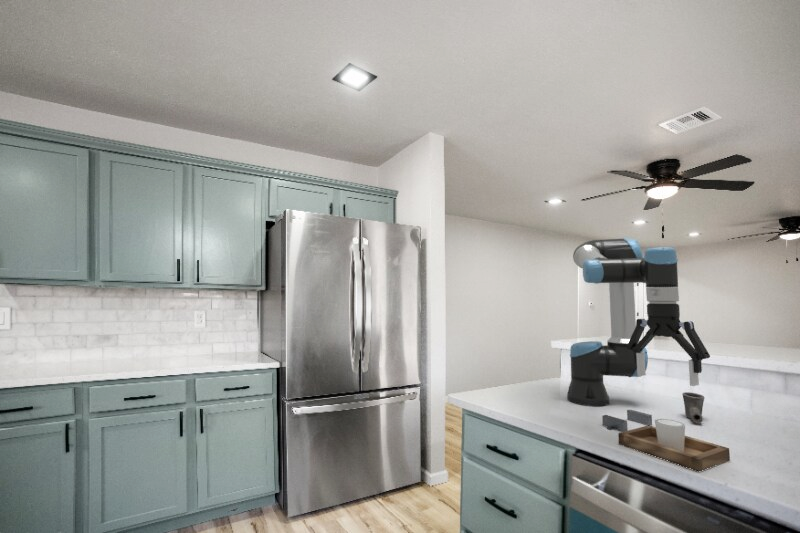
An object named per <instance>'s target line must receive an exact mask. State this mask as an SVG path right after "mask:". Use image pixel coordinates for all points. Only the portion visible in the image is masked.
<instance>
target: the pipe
mask: <svg viewBox="0 0 800 533" xmlns="http://www.w3.org/2000/svg"><path fill="white" fill-rule="evenodd" d="M682 398H683V404H684V413H685V416H686V418H688V419H691V421H692V422H693V423H695V424H701V423H702V422H703V407H704V402H705V396H704V395H703V394H699V393H696V392H691V391H690V392H687V391H685V392H682Z"/></svg>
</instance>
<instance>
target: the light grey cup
mask: <svg viewBox="0 0 800 533" xmlns="http://www.w3.org/2000/svg"><path fill="white" fill-rule="evenodd" d="M654 425H655V426H654V427H656V433H657V439H658V444H660V445H663V446H666V447H669V448H673V449H676V450H679V451H682V452H684V440H685V436H686V424H685V423H683V422H681V421H679V420H678V421H677V420H673V419H667V418H666V419H665V418H657V419H654Z"/></svg>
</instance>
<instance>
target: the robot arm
mask: <svg viewBox="0 0 800 533" xmlns="http://www.w3.org/2000/svg"><path fill="white" fill-rule="evenodd" d="M572 254H573V255H572V258H573V262H574V263H575V265H576V266H577V267H578V268H581V269H582V277H583V281H584V282H585V283H588V284H590V283H591V284H608V287H609V288H608V290H609V291H608V293H609V313H610V314H609V315H610V333H611V336H610V338H608V339H607V343H606V345H604V344H603V343H602V342H601V341H597V340H595V341H593V340H592V341H589V340H588V341H581V342H576V343H572V345H571V346H570V353H569V357H570V376H571V378H570V383H569V386H568V390H567V392H566V397H567V398H566V399H567V401H569V402H571V403H574V404H577V405H582V406H590V407H591V406H593V407H604V406H608V405H609V404H610V396H609V395H608V391H607V389H606V387H605V384H604V383H605V382H604V376H610V377H614V376H615V377H628V378H633V377H634V378H640V377H643V376H646V372H647V369H648V363H649V362H648V361H649V356H648V349H647V346H648V345H649V343H651V341H652V340H653V339H654V338H655V337H663V338H672V339H673V340H675V341H676V342H677V344H678V345H679V346H680V347H681V349H683V351H684V352H685V353H686V354H687V355H688V356H689V357H690V358H691V359H688V372H689V373H688V374H689V375H688V376H689V385H690V387H691V386H692V387H695V386H699V385H700V383H699V382H700V381H699V380H700V378H699V374H701V373H702V370H703V367H702V365H703V364H702V361H703V360H706V359H709V358H710V357H711V355H710V354H709V352H708V350H707V348H706V346H705V345H704V343H703V342H702V340H701V338H700V337H699V334H698V333H697V331H696V329H695V324H694V322H693V321H691V320H690V321H684V322H683V321H680V316H681V314H680V313H681V312H680V304H679V303H677V302H680V296H679V294H680V292H679V279H678V278H679V276H678V273H679V272H678V256H677V250H676V248H674V247H671V246H670V247H669V246H666V247H665V246H661V247H651V248H650V247H649V248H646V249H645V250H644V256H643V251H642V248H641V245H640V244H639V242H638V240H636V239H634V238H624V237H623V238H611V239H592V240H587V241H585V242H583V243H581V244H579V245H577V247H576V248H575V249H574V252H573V253H572ZM635 283H638V284H641V283H642V284H645V289H646V290H645V291H646V293H645V294H646V301H647V302H649V303H647V304H646V314H647V317H648V318H647V319H645V318H637V319H636V303H635V302H636V301H635ZM646 327H648V328H649V329H648V330H647V331H646V332H645V335H643V333H644V331H645V329H646ZM681 328H682V329H683V330H684V332H685V334H686V336H687V337H688V339H689V341H688V340H687V338H686V337H685V336H684V334H683V333H682V332H681V331H680V329H681ZM642 335H643V337H642ZM641 337H642V338H641Z"/></svg>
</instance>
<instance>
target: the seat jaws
mask: <svg viewBox="0 0 800 533" xmlns="http://www.w3.org/2000/svg"><path fill="white" fill-rule="evenodd" d="M652 416H653V415H652V414H650V413H645V412H641V411H637V410H633V409H627V410H626V417H627V418H626V419H627V420H625V419H622V418H619V417H615V416H612V415H608V414H605V415H602V419H601V420H602V426H604V427H606V430H609V431H611V430H616V431H620V432H624V431H628V421H632V422H635V423H639V424H643V425H645V426H648V425H650V426H653V417H652Z"/></svg>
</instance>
